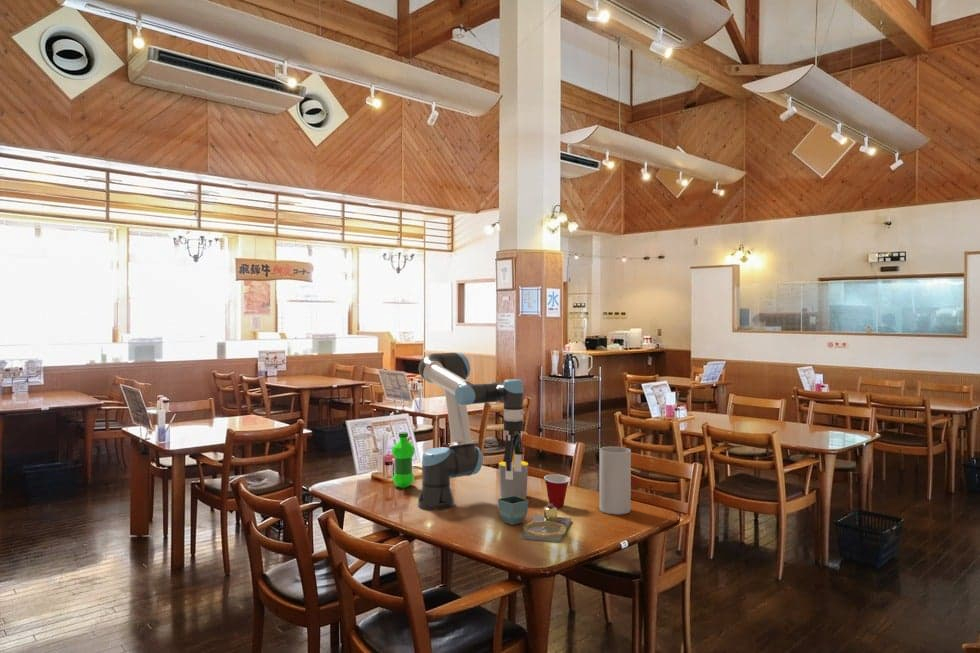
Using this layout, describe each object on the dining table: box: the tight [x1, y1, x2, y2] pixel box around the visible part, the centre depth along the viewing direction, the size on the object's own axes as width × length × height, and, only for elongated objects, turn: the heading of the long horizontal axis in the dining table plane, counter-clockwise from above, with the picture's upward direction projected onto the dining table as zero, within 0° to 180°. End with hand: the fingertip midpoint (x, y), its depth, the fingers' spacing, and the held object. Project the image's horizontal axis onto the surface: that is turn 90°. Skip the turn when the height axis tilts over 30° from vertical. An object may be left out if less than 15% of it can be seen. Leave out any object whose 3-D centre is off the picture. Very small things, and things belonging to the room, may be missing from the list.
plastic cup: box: [543, 474, 571, 509], centre depth 269 cm, size 11×11×12 cm
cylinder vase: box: [598, 446, 632, 516], centre depth 263 cm, size 12×12×25 cm
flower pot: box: [497, 496, 530, 526], centre depth 247 cm, size 9×9×9 cm
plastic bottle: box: [391, 431, 416, 489], centre depth 302 cm, size 10×10×25 cm
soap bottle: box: [498, 451, 529, 499], centre depth 284 cm, size 13×13×21 cm
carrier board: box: [520, 502, 572, 543], centre depth 239 cm, size 15×25×8 cm, turn 164°
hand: (513, 475), depth 247 cm, fingers open, 13 cm apart
